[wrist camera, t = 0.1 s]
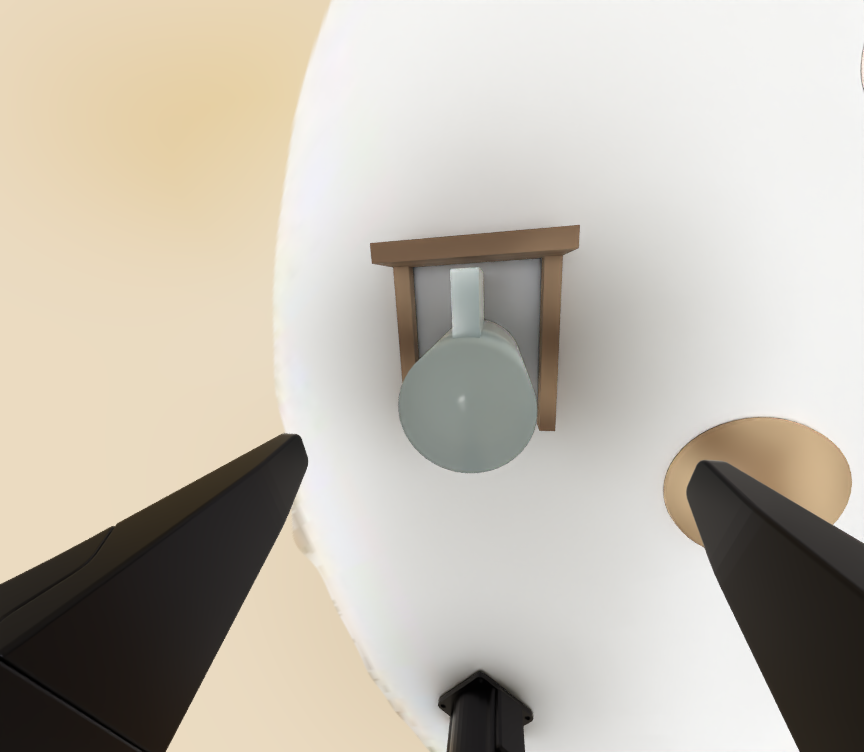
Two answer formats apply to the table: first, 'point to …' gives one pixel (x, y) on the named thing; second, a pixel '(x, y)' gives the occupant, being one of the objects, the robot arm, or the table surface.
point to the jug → (469, 389)
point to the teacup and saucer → (862, 68)
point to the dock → (486, 249)
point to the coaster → (765, 466)
